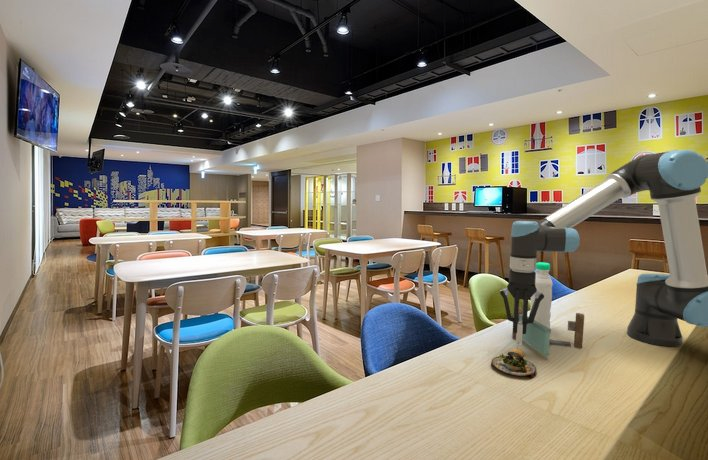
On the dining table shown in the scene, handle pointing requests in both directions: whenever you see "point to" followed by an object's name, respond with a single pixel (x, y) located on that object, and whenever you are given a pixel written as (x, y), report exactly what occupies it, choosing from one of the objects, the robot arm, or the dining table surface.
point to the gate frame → (572, 326)
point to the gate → (537, 336)
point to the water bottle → (545, 287)
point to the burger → (514, 364)
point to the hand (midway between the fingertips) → (518, 342)
